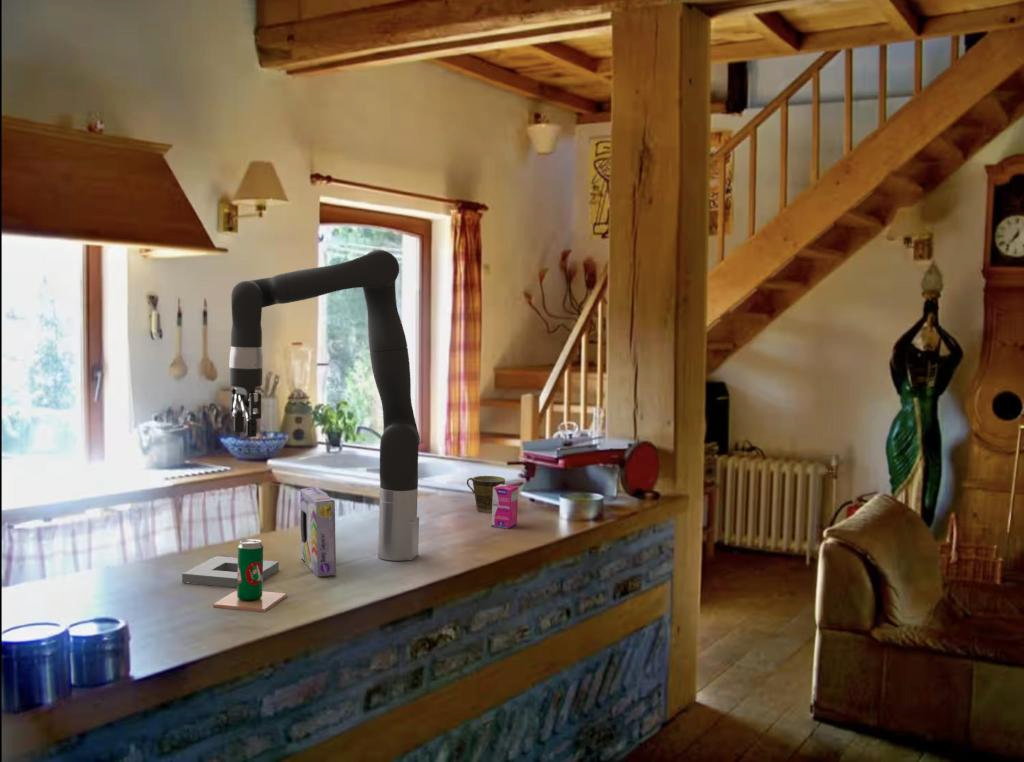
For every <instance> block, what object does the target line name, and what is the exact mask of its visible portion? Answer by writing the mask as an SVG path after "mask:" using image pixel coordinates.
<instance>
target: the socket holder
mask: <svg viewBox="0 0 1024 762" xmlns="http://www.w3.org/2000/svg"><path fill="white" fill-rule="evenodd" d="M237 570H238V557H229V556H219V555H216V556H214V557H211V558H210V559H208V560H206V561H204V562H201V563H200V564H198V565H196V566H194V567H192V568H190V569H188V570H186V571H184V572H183V573H182V574H181V582H189V583H188V584H192V583H196V584H195V585H203V586H215V587H227V588H237ZM279 570H280V562H279V560H278V561H277V560H276V561H275V560H264V559H263V581H264V580H266V579H267V578H268V576H269V577H270V576H272V575H273V574H275V573H277V572H278V571H279ZM276 571H277V572H276ZM274 572H275V573H274Z"/></svg>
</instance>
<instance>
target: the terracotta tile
mask: <svg viewBox="0 0 1024 762" xmlns="http://www.w3.org/2000/svg"><path fill="white" fill-rule="evenodd" d="M287 596H288V595H287V593H284V592H275V591H273V592H272V591H265V590H264V591H263V590H262V597H261V598H260V599H259V600H256V601H241V600H240V599H239V598H238V597H237V589H236V590H234V591H232V592H230V593H229V594H228V595H226V596H224V597H223V598H221V599H219V600H218V601H216V602H214V603H213V606H212V607H213V608H220V609H222V608H223V609H229V610H230V609H231V610H241V611H250V612H251V611H252V612H260V613H265V612H267V611H268V610H269V609H270V608H273V607H274V606H276V605H277V604H278V603H280V602H281V601H282V600H284V599H285V598H286V597H287ZM283 598H284V599H283ZM280 600H281V601H280ZM277 602H278V603H277Z"/></svg>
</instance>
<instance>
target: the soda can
mask: <svg viewBox="0 0 1024 762" xmlns="http://www.w3.org/2000/svg"><path fill="white" fill-rule="evenodd" d="M237 558H238V570H237V589H236V590H237V597H238V598H239V599H240V600H241V601H256V600H259V599H260V598H261V597H262V591H263V585H264V583H263V582H264V580H263V560H264V544H263V543H262V540H260V539H258V538H249V539H248V538H247V539H242V540H240V541H239V544H238V546H237Z"/></svg>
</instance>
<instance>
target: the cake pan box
mask: <svg viewBox="0 0 1024 762" xmlns="http://www.w3.org/2000/svg"><path fill="white" fill-rule="evenodd" d="M299 496H300V497H299V498H300V500H299V505H300V506H299V508H300V535H301V536H300V537H301V539H300V540H301V541H300V555H301V556H300V558H302V559H303V560H304V561H305V562H304V561H303V560H302V559H301V560H302V561H303V562H304V563H305V564H306V565H307V567H308V566H309V567H308V568H309V569H310V570H311V572H313V574H314V575H315V576H316V577H319V578H321V577H336V575H337V562H336V561H337V556H336V551H337V550H336V549H337V547H336V545H337V543H336V500H334V499H333V498H332V497H330V496H329V494H328V493H327V492H325V491H323V490H322V489H320V488H319V487H318V486H313V487H307V488H301V489H300V495H299Z"/></svg>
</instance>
